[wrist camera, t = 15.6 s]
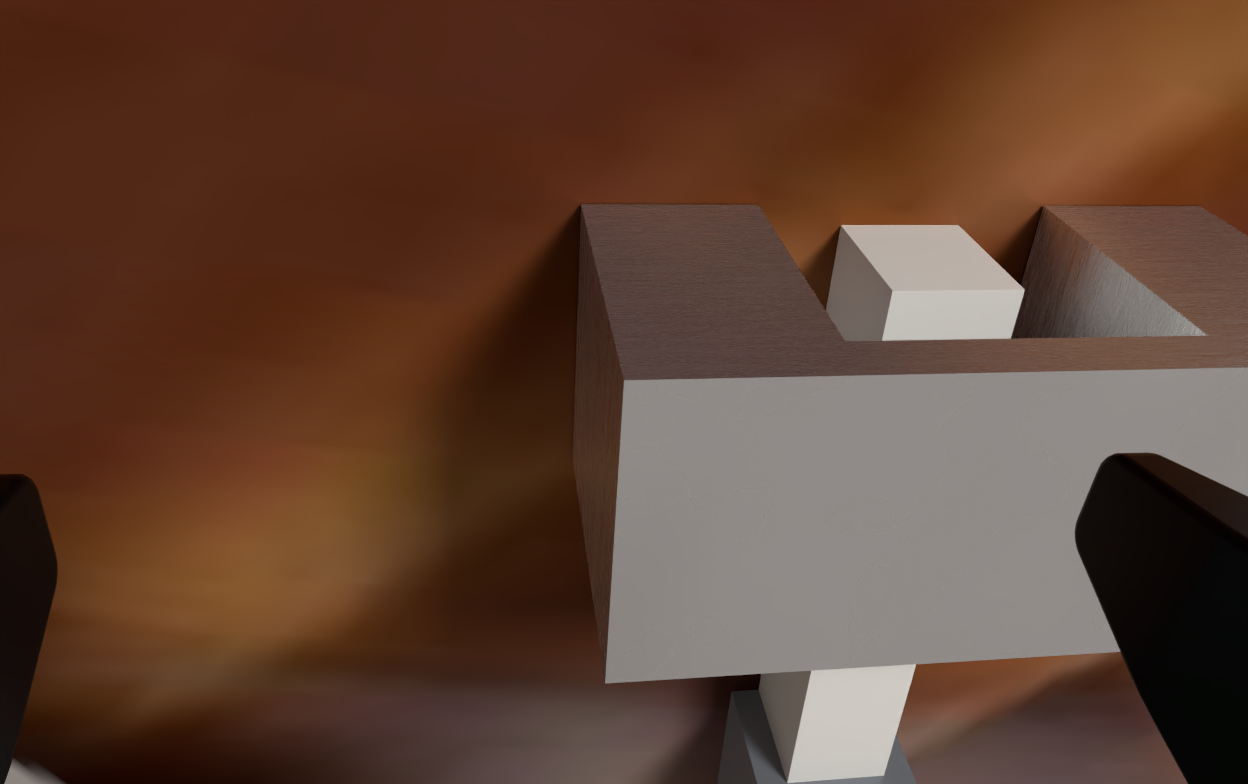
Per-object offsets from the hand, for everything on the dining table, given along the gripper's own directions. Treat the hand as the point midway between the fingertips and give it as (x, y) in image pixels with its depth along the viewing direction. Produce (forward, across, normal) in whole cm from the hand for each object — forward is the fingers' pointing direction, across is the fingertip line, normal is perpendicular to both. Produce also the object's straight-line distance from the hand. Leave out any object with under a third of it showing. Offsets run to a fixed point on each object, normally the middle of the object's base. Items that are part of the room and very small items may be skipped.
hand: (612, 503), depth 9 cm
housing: (+11, -8, +5) cm, 15 cm away
